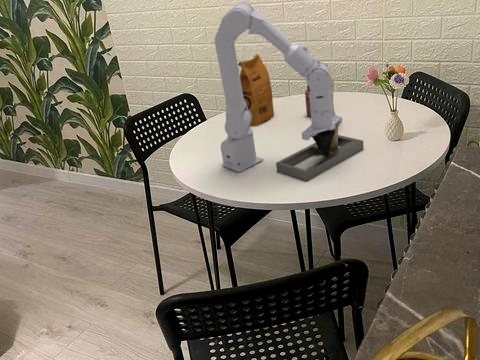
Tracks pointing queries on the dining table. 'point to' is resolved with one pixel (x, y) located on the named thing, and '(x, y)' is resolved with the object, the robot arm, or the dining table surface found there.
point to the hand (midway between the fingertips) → (324, 155)
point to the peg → (334, 140)
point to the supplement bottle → (307, 101)
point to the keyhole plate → (338, 155)
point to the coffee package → (256, 90)
